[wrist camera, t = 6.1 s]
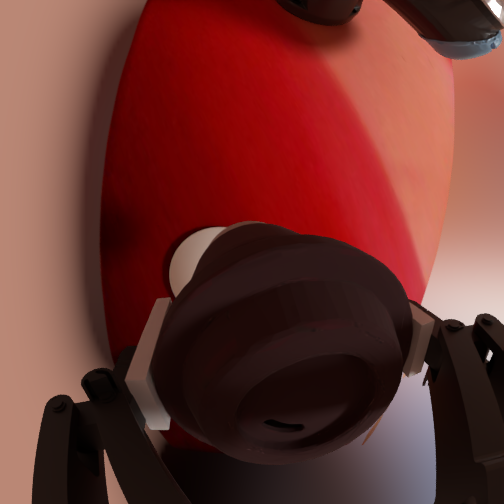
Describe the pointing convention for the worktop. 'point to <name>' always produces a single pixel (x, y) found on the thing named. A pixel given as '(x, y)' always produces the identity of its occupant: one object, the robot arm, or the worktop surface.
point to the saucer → (190, 257)
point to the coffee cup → (282, 345)
